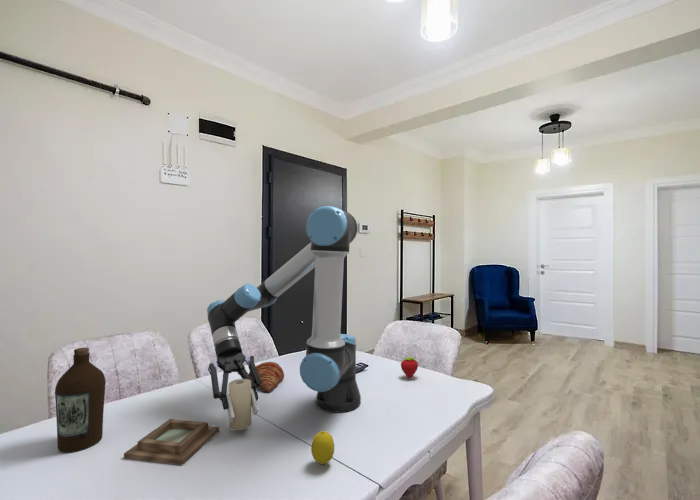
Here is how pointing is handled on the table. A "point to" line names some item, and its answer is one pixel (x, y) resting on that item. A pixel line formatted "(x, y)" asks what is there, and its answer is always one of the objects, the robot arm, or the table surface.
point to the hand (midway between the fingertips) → (244, 415)
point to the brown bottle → (80, 404)
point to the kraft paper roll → (240, 403)
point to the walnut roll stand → (172, 442)
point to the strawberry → (409, 366)
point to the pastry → (269, 375)
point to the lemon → (322, 447)
